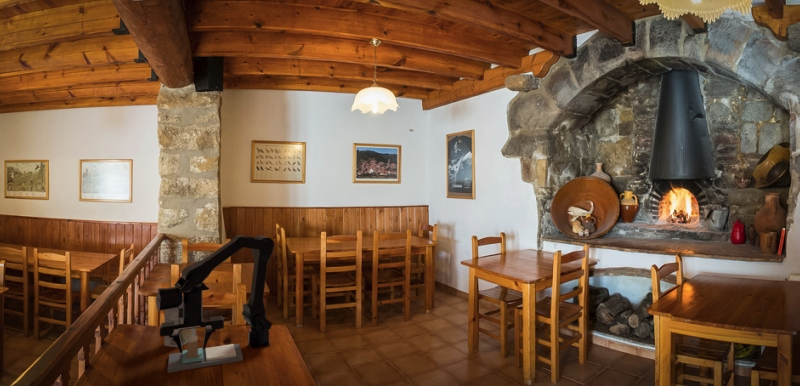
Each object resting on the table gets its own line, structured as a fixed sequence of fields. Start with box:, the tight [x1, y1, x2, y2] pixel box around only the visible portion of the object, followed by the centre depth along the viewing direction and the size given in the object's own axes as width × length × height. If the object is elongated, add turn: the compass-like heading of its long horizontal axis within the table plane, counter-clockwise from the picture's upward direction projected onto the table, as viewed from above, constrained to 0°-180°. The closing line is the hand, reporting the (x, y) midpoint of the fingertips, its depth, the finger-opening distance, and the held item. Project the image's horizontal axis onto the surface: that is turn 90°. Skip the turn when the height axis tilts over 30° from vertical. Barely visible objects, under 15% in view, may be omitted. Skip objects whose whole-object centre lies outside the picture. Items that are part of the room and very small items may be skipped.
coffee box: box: [163, 295, 197, 348], centre depth 154 cm, size 9×6×16 cm
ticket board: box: [167, 343, 244, 374], centre depth 141 cm, size 22×12×2 cm, turn 116°
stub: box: [182, 335, 203, 364], centre depth 139 cm, size 6×9×6 cm, turn 26°
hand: (192, 351), depth 139 cm, fingers open, 6 cm apart
